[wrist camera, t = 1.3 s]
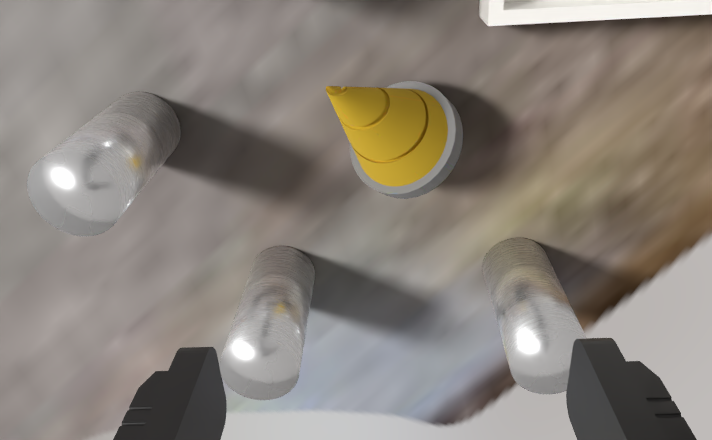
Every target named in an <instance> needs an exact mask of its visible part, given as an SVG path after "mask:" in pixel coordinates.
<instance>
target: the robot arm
mask: <svg viewBox="0 0 712 440" xmlns="http://www.w3.org/2000/svg"><path fill="white" fill-rule="evenodd" d="M566 397H567V408H568V414H569V418H570V421H571V424H572V426H573V429H574V432H575V435H576V437H577V440H696V438H695V436H694V435H693V433H692V431H691V429H690V428H689V426H688V424H687V423H686V421H685V419H684V418H683V417H681V413H680V411H679V409H678V408H677V406H676V404H675V403H674V401H672V400H671V396H670V394H669V393H668V391H667V389H666V388H665V386H664V384H663V383H662V381H661V379H660V378H659V377H658V376H657V375H656V374H654V373H653V372H652V371H651V370H649V369H648V368H647V367H646V366H645V365H644V364H642V363H641V362H640V361H630V362H626V361H625V359H624V357H623V355H622V353H621V352H620V350H619V348H618V346H617V344H616V343H615V341H614V340H613V339H612V338H592V339H576V340H575V341H574V344H573V349H572V356H571V363H570V370H569V378H568V385H567V394H566ZM129 408H130V409H129V411H127V413H126V415H125V417H124V419H123V421H122V426H120V427H119V429H118V431H117V433H116V435H115V437H114V439H113V440H220V439H221V435H222V432H223V429H224V425H225V419H226V396H225V391H224V387H223V382H222V377H221V372H220V368H219V363H218V358H217V354H216V351H215V349H214V348H213V347H192V348H180V349H179V350H178V351H177V353H176V355H175V357H174V359H173V362H172V364H171V366H170V368H169V371H156V372H155V373H154V374H153V375H152V376H151V377H150V378H148V379H147V380H146V381H145V382H144V383H143V384H142V385H141V386H140V387H139V388H138V390H137V392H136V394H135V396H134V399H133V401H132V403H131V405H130V407H129Z"/></svg>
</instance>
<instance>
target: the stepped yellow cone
mask: <svg viewBox="0 0 712 440" xmlns="http://www.w3.org/2000/svg"><path fill="white" fill-rule="evenodd" d="M326 91H327V94H328V96H329V98H330V100H331V102H332V104H333V107H334V109H335V111H336V113H337V115H338V117H339V120H340V122H341V124H342V126H343V128H344V130H345V132H346V135H347V137H348V139H349V141H350V156H351V160H352V164H353V167H354V169H355V171H356V173H357V174H358V176H359V177H360V178H361V180H362V181H363V182H364V183H365V184H367V185H368V186H369V187H370V188H372V189H374V190H376V191H378V192H380V193H382V194H385V195H387V196H390V197H394V198H404V199H407V198H413V197H418V196H421V195H423V194H426V193H428V192H430V191H431V190H433V189H434V188H436V187H438V186H439V185H440V184H441V183H442V182H443V181H444V180H445V179H446V178H447V177H448V175H449V174H450V173H451V171H452V170H453V169H454V167H455V165H456V163H457V161H458V159H459V156H460V152H461V149H462V143H463V128H462V123H461V119H460V116H459V114H458V112H457V110H456V108H455V107H454V105H453V104H452V103H451V102H450V101H449V100H448V99H447V98H446V97H445V96H444V95H443V94H442V93H441V92H440V91H438V90H437V89H435V88H434V87H432V86H430V85H428V84H425V83H422V82H415V81H406V82H400V83H396V84H392V85H390V86H388V87H386V88H371V87H343V88H342V89H341V87H339V86H327V87H326Z"/></svg>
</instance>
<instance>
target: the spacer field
mask: <svg viewBox="0 0 712 440" xmlns="http://www.w3.org/2000/svg"><path fill="white" fill-rule="evenodd" d="M180 136H181V128H180V123H179V120H178V117H177V115H176V113H175V112H174V110H173V109H172V108H171V107H170V105H169V104H168V103H166V102H165V101H164V100H163V99H161V98H159V97H158V96H156V95H153V94H150V93H147V92H131V93H128V94H125V95H123V96H122V97H120V98H119V99H117V100H116V101H115V102H113V103H112V104H111V105H110V106H108V107H107V108H106V109H104V110H103V111H102V112H101V113H99V114H98V115H97V116H95V117H94V118H93V119H91V120H90V121H89V122H88V123H86V124H85V125H84V126H82V127H81V128H80V129H78V130H77V131H76V132H75V133H73V134H72V135H71V136H69V137H68V138H67V139H65V140H64V141H63V142H62V143H60V144H59V145H58V146H56V147H55V148H54V149H52V150H51V151H50V152H49V153H47V154H46V155H45V156H43V157H42V158H41V159H39V160H38V161H37V162H36V163H35V164H34V165H33V167H32V168H31V170H30V173H29V175H28V180H27V189H28V194H29V198H30V200H31V202H32V204H33V206H34V208H35V209H36V211H37V212H38V213H39V215H40V216H41V217H42V218H43V219H44V220H45V221H47V222H48V223H49V224H50V225H52V226H53V227H55V228H57V229H59V230H61V231H63V232H65V233H68V234H72V235H76V236H94V235H98V234H101V233H103V232H105V231H107V230H108V229H110V228H111V227H112V226H113V225H114V224H115V223H116V222H117V220H118V219H119V218H120V217H121V215H122V214H123V213H124V212H125V210H126V209H127V208H128V207H129V206H130V204H131V203H132V202H133V201H134V199H135V198H136V197H137V196H138V194H139V193H140V192H141V191H142V189H143V188H144V187H145V186H146V184H147V183H148V182H149V181H150V180H151V178H152V177H153V176H154V175H155V173H156V172H157V171H158V170H159V168H160V167H161V166H162V165H163V163H164V162H165V161H166V160H167V159H168V157H169V156H170V155H171V154H172V152H173V151H174V150H175V148H176V147H177V145H178V143H179V140H180ZM482 271H483V275H484V279H485V282H486V286H487V289H488V293H489V297H490V300H491V304H492V307H493V311H494V314H495V318H496V321H497V325H498V328H499V332H500V335H501V339H502V342H503V346H504V349H505V353H506V356H507V360H508V363H509V367H510V370H511V373H512V376H513V378H514V380H515V381H516V382H517V383H518V384H519V385H520V386H521V387H523V388H524V389H526V390H528V391H531V392H534V393H539V394H556V393H561V392H564V391H567V385H568V378H569V370H570V363H571V356H572V349H573V344H574V341H575V340H576V339H587V338H586V336H585V334H584V332H583V330H582V328H581V326H580V323H579V321H578V319H577V317H576V315H575V313H574V311H573V309H572V307H571V305H570V303H569V301H568V298H567V296H566V294H565V292H564V290H563V288H562V286H561V284H560V282H559V280H558V278H557V275H556V273H555V271H554V269H553V267H552V265H551V263H550V261H549V259H548V257H547V255H546V253H545V251H544V249H543V248H542V247H541V246H540V245H539V244H538V243H536V242H534V241H532V240H530V239H526V238H511V239H507V240H504V241H502V242H500V243H498V244H496V245H495V246H493V247H492V248H491V249H490V250H489V252H488V253H487V254H486V256H485V258H484V261H483V265H482ZM314 280H315V270H314V266H313V264H312V262H311V261H310V259H309V258H308V257H307V256H306V255H305V254H304V253H302V252H301V251H299V250H297V249H295V248H292V247H288V246H275V247H271V248H268V249H266V250H264V251H262V252H261V253H260V254H259V255H258V256H257V257H256V258H255V260H254V262H253V265H252V268H251V271H250V274H249V277H248V280H247V283H246V286H245V289H244V291H243V294H242V297H241V300H240V303H239V306H238V309H237V312H236V315H235V318H234V321H233V324H232V327H231V330H230V333H229V336H228V339H227V341H226V344H225V347H224V350H223V353H222V356H221V359H220V364H219V368H220V372H221V376H222V378H223V380H224V382H225V383H226V384H227V385H228V386H229V387H230V388H231V389H232V390H233V391H235V392H236V393H238V394H240V395H242V396H244V397H247V398H251V399H256V400H270V399H275V398H279V397H281V396H283V395H285V394H287V393H288V392H290V391H291V390H292V389H293V388H294V386H295V385H296V383H297V381H298V378H299V372H300V365H301V359H302V353H303V347H304V341H305V335H306V329H307V323H308V316H309V310H310V304H311V298H312V292H313V286H314Z"/></svg>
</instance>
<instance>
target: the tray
mask: <svg viewBox="0 0 712 440" xmlns="http://www.w3.org/2000/svg"><path fill="white" fill-rule="evenodd" d="M708 14H712V0H480V2H479V17H480V18H481V19H482V20H483V21H484V22H485V23H486V24H487V26H500V25H519V24H538V23H557V22H576V21H595V20H613V19H632V18H651V17H670V16H689V15H708Z"/></svg>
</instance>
